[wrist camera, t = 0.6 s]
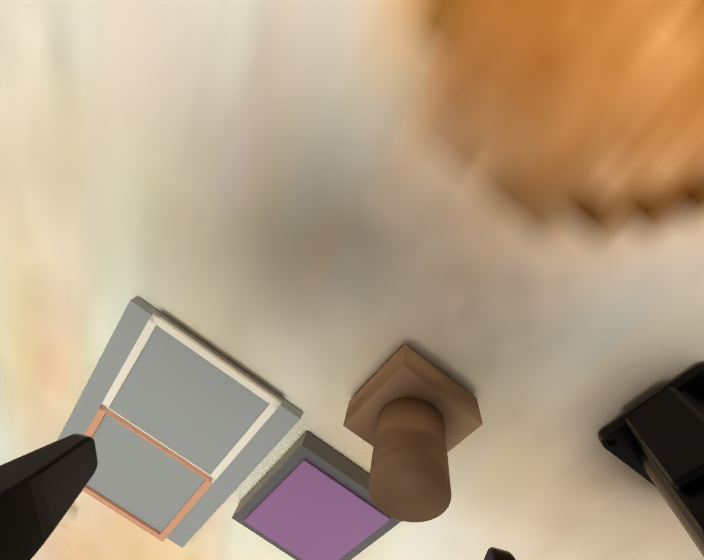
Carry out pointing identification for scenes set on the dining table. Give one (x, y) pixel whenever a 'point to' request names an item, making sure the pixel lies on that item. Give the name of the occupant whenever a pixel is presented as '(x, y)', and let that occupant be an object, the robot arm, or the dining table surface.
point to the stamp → (411, 434)
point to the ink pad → (314, 505)
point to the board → (172, 425)
